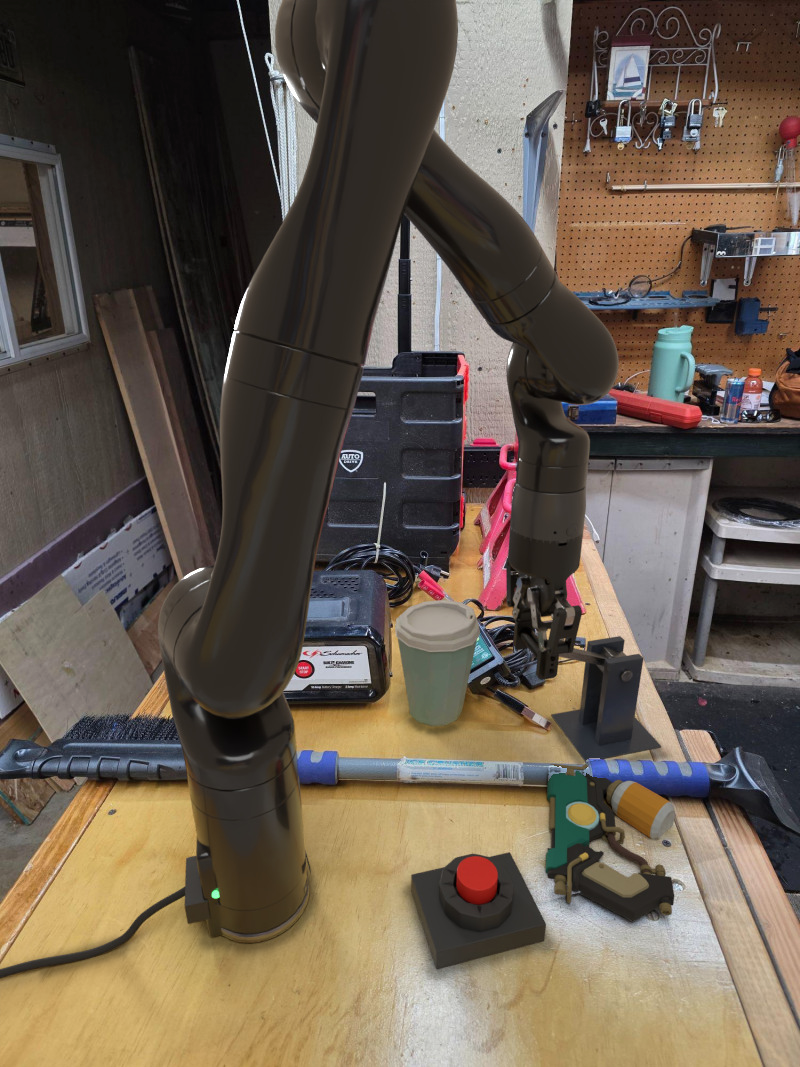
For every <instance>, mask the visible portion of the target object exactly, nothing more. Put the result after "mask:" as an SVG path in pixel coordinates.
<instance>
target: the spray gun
mask: <svg viewBox="0 0 800 1067" xmlns="http://www.w3.org/2000/svg"><path fill="white" fill-rule="evenodd" d="M549 765H554V766H557V767H559V766H561V767H562V768H567V772H566V773H559V774H553V775H552V776H551V778H550V779H549V781H548V783H547V782H546V784H547V785H546V788H547V789H546V798H547V801H548V802H549V832H550V833H551V836H550V837H551V838H550V839H551V841H550V845H551V847H547V850H546V853H545V874H547V876H546V877H547V878H548V879H552V880H553V882H554V885H553V886H554V888H553V889H554V890H553V893H554V894H555V895H561V896H562V898H564V897H565V896H566V903H567V904H571V902H572V896H573V897H577V896H579V894H580V895H582V896H583V897H586V898H587V899H589V900H591V901H593V902H595V903H597V904H599V905H600V906H602V907H604V908H606V909H608V910H610V911H611V912H614V913H615V914H617V915H619V916H621V917H623V918H625V919H627V920H628V921H630V922H634V923H635V921H637V920H639V919H641V918H643V917H645V915H647V914H649V913H651V912H652V911H654V910H657V908H658V909H659V912H660V914H661V915H663V916H670V915H672V913H673V907H672V906H674V904H675V892H674V885H673V879H672V877H671V876H668V875H667V872H666V869H665V867H664V865H663V864H656V865H655V868H653V867H651V865H650V864H649V863H648V861H647V860H646V859H645V858H644V857H643V856H641V855H639V854H637V853H634V852H633V851H631V850H629V849H628V848H625V847H624V846H622V845H623V844H624V843H625V838H626V834H625V830H624V829H623V828H621V827H619V826H616V818H615V815H616V816H617V817H618V818H619V819H621V820H622V821H624V822H625V823H627V824H628V825H630V826H632V827H633V828H634V829H636V830H637V831H639V832H640V833H642V834H643V835H645V836H646V837H648V838H649V839H650V840H659V839H661V838H662V836H663V835H664V834H665V833H666V832H668V830H669V829H671V828H672V826H673V824H674V822H675V819H676V812H675V807H674V805H673V803H672V802H671V801H670V800H669V799H666V798H665V797H662V796H661V795H659V794H657V793H656V792H654V791H652V790H650V789H649V788H647V787H645V786H644V785H642V784H641V783H638V782H636V781H633V780H626V781H623V780H621V779H616V780H614V781H613V782H612V781H611V780H610V779H609V778H607V777H605V778H597V777H592V776H590V775H589V774H587V773H586V776H584V775H583V774H582V773H583V771H584V770H585V769H586V768H587V767H588V766H589V765H588V764H586V763H584V764H582V765H581V766H578V765H568V764H558V763H550V764H549ZM604 796H605V799H604ZM605 800H606V801H605ZM605 802H606V803H607V804H608V805H610V806H611V808H610V807H609V806H608V805H607V804H606V803H605ZM617 833H619V838H618V840H617V839H616V837H615V836H616V834H617ZM599 838H601V840H602V841H604V842H605V843H609V845H610V846H611V847H612V848H613V849H614V850H615V851H616V852H617V853H619V854H620V855H621V856H623V857H625V858H627V859H628V860H631V861H632V862H635V863H637V864H638V865H640V868H639V869H640V872H635V873H633V874H631V875H629V876H626V875H625V874H623V873H621V872H619V871H618V870H616V869H614V868H613V867H611V866H609V865H607V864H606V863H604V862H602V861H600V859H602V858H603V857H604V855H605V851H603V850H600V851H597V850H594V849H593V848H592V847H590V842H592V841H594V840H597V839H599ZM572 892H573V893H572Z"/></svg>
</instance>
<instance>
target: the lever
mask: <svg viewBox="0 0 800 1067" xmlns="http://www.w3.org/2000/svg"><path fill="white" fill-rule="evenodd" d="M519 637H520V639H521V640H522V641H523V642H524V644H525V645H526V646H527V647H528V649H527V650H529V651H530V652H531V654H532V655H533V656H534V658H535V659H536V660H537V656H538V648H539V642H538V634H536V633H535V631H534V632H533V630H532V629H531V628H529V627H525V628H523V629H522V630H521V631H520V633H519ZM622 656H628V655H627V654H626V653H625V652H624V651H623V652H622V651H619V650H615V649H610V648H606V647H603V649H602V651H601V653H600V654H599V653H594V652H589V651H587V650H584V649H580V648H576V647H574V649H573V652H572V653H564V654H559V658H564V659H568V660H573V661H578V662H583V663H585V662H587V663H592V664H596V665H597V666H598V667H599V669H600V670H601V671H602V672H603V673H604V665H605V659H610V658H616V657H622Z"/></svg>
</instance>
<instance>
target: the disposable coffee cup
mask: <svg viewBox="0 0 800 1067" xmlns="http://www.w3.org/2000/svg"><path fill="white" fill-rule="evenodd" d="M394 631H395V637H396V638H397V642H398V648H399V649H398V650H399V654H400V661H401V667H402V673H403V679H404V685H405V692H406V697H407V703H408V710H409V716H411V717H412V718H413V719H414V720H415V721H416V722H417V723H420V724H422V725H426V726H429V727H444V726H445V727H446V726H447V725H449V724H451V723H454V722H456V721H457V720H458V719H459V717H460V716H461V714H462V712H463V708H464V703H465V698H466V693H467V690H468V689H467V688H468V685H469V684H468V683H469V679H470V674H471V671H472V665H473V660H474V656H475V650H476V646H477V641H478V639H479V637H480V634H481V630H480V624H479V621H478V617H477V616H476V612H475V610H474V608H473V607H471V606H469V605H467V604H465V603H463V602H462V601H454V600H447V599H440V600H438V599H437V600H428V601H422V602H420V603H417V604H414V605H411V606H408V608H406V609H405V610H404V611H403V612H402V613H401V614H400V615H399V616H398V617H397V618H396V619H395V625H394Z"/></svg>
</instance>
